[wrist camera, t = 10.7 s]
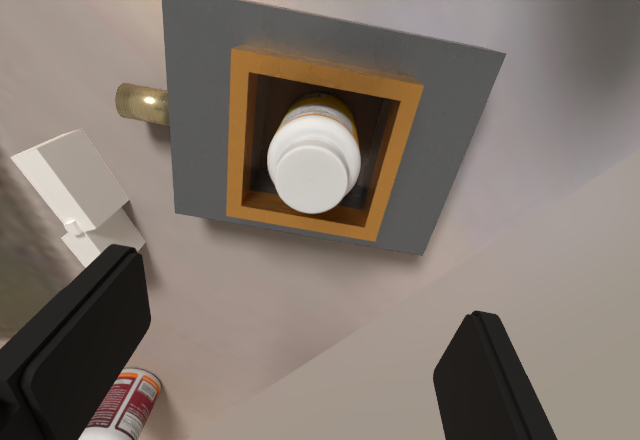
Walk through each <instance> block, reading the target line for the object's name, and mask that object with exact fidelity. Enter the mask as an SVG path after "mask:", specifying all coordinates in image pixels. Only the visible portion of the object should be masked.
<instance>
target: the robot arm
mask: <svg viewBox="0 0 640 440" xmlns="http://www.w3.org/2000/svg"><path fill="white" fill-rule="evenodd" d="M150 323H151V315H150V308H149V301H148V294H147V286H146V279H145V272H144V265H143V258H142V255H141V254H138V253H137V250H136V249H135V248H134V247H129V246H123V245H118V244H111V245H109V246H108V247H107V248H106V249H105V250H104V251H103V252H102V253H101V254H100V255H99V256H98V257H97V258H96V259H95V260H94V261H93V262H92V263H91V264H90V265H89V266H87V267H86V268H85V269H84V270H83V271H82V272H81V273H80V274H79V275H78V276H77V277H76V278H75V279H74V280H73V281H72V282H71V283H70V284H69V285H68V286H67V287H65V288H64V289H62V290H61V291H60V292H59V293H58V294H57V295H56V296H55V297H54V298H53V299H52V300H51V301H49V302H48V303H47V304H46V305H45V306H44V307H43V308H42V309H41V310H40V311H39V312H38V313H37V314H36V315H35V316H34V317H33V318H32V319H31V320H30V321H29V322H28V323H27V324H26V325H25V326H24V327H23V328H22V329H21V330H20V331H19V332H18V333H17V334H16V335H14V336H13V337H12V338H11V339H10V340H9V341H8V342H7V343H6V344H5V345H4V346H3V347H2V348H1V349H0V440H78V439H79V438H80V436H81V435H82V433H83V431H84V430H85V428H86V427H87V425H88V423H89V422H90V420H91V419H92V417H93V416H94V414H95V412H96V411H97V409H98V408H99V406H100V405H101V403H102V401H103V400H104V398H105V397H106V395H107V394H108V392H109V390H110V389H111V387H112V386H113V384H114V383H115V381H116V379H117V378H118V376H119V375H120V373H121V372H122V370H123V368H124V367H125V365H126V364H127V362H128V360H129V359H130V357H131V356H132V354H133V353H134V351H135V349H136V348H137V346H138V345H139V343H140V342H141V340H142V338H143V337H144V335H145V334H146V332H147V330H148V328H149V326H150ZM433 382H434V387H435V391H436V396H437V401H438V405H439V410H440V415H441V419H442V424H443V429H444V433H445V438H446V440H557V438H556V435H555V434H554V432H553V429H552V427H551V425H550V423H549V421H548V419H547V416H546V414H545V412H544V410H543V408H542V406H541V404H540V402H539V400H538V398H537V395H536V393H535V391H534V389H533V387H532V385H531V382H530V380H529V378H528V376H527V375H526V373H525V371H524V369H523V366H522V365H521V362H520V360H519V358H518V356H517V354H516V352H515V349H514V347H513V345H512V343H511V341H510V339H509V337H508V335H507V333H506V330H505V328H504V326H503V324H502V322H501V320H500V318H499V317H498V315H496V314H492V313H486V312H481V311H474V312H472V314H471V315H469V314H468V315H466V316H465V318H464V319H463V321H462V323H461V325H460V326H459V328H458V330H457V332H456V333H455V335H454V337H453V338H452V340H451V342H450V344H449V345H448V347H447V349H446V351H445V352H444V354H443V356H442V358H441V359H440V361H439V363H438V364H437V366H436V368H435V370H434V374H433Z"/></svg>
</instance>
